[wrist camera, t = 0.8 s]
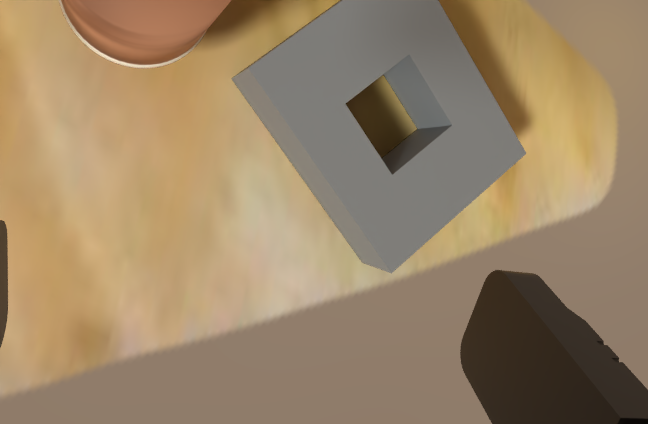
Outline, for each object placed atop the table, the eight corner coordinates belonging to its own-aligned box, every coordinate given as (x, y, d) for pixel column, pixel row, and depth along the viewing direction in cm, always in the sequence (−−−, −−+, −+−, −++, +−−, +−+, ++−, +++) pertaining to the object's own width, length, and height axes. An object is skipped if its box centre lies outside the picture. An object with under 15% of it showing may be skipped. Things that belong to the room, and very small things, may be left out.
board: (231, 78, 30) (248, 68, 27) (378, -27, 32) (410, -49, 29) (362, 262, 33) (391, 273, 30) (486, 154, 36) (526, 153, 32)
